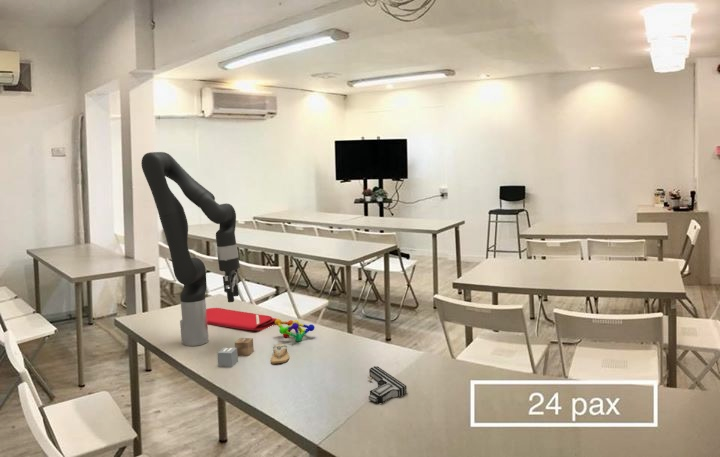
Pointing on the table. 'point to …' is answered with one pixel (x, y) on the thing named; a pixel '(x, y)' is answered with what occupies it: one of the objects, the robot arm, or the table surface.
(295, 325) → the decorative model
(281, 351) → the sandal
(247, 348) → the walnut block
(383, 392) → the handgun
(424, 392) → the table surface
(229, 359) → the slate block
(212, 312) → the dish drying mat
